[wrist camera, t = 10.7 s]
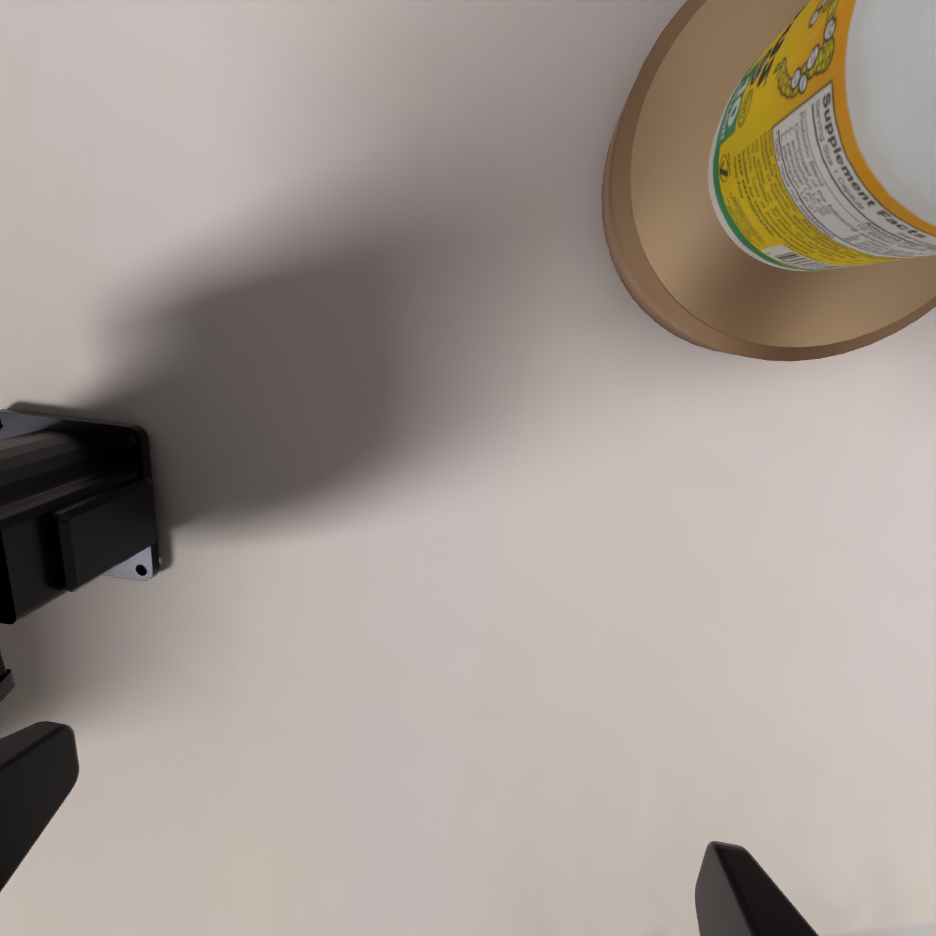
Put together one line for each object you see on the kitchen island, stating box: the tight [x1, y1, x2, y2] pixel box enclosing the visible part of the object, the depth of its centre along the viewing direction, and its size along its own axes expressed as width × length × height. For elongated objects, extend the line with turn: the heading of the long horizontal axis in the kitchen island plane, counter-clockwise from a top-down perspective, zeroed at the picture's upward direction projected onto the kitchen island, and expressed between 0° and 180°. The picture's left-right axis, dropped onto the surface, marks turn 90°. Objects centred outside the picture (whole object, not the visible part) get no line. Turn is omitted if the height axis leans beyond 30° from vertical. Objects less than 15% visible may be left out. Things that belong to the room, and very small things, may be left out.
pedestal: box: [602, 0, 936, 361], centre depth 14 cm, size 10×10×3 cm
